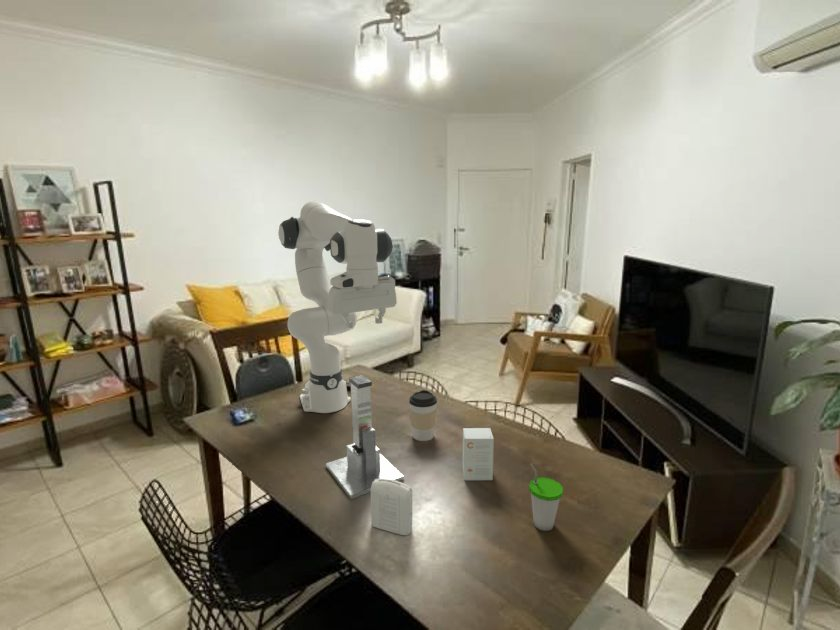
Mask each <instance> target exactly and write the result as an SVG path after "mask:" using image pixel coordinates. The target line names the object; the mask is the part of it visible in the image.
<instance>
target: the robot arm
mask: <svg viewBox="0 0 840 630" xmlns="http://www.w3.org/2000/svg"><path fill="white" fill-rule="evenodd" d="M299 215H300V216H299V217H294V216H291V217H289V218H288V219H285V220H283V221H281V223H280V224H279V227H278V228H279V229H278V232H277V233H278V239H279V242H280V244H281V245H282V246H283V248H285V249H288V250H289V249H290V250H294V251H295V252H294V265H295V272H296V276H297V280H298V285H299V290H300V293H301V295H302V296H303V297H304V298H306V299H307V300H309V301H313V302H314V303H316V305H318V306H317V307H309V308H308V307H307V308H302V309H299V310H295V311H294V312H291V314H290V315H289V316H288V319H287V324H286V326H287V329H288V332H289V333H290V335H291V336H292V337H293V338H295V339H296V340H297V341H299V342H300V343H302V344H303V345H304V346H305V348H306V350H307V353H308V357H309V362H310V363H309V364H310V372H309V380H308V381H307V382H306V383H305V385H304V388H302V389H301V394H300V395H299V400H300V402H301V405H302V409H303V411H304V412H307V413H308V412H311V413H317V414H319V413H320V414H330V413H335V412H339V411H340V410H342V409H344V408H345V407H347V406H348V405H347V404H348V403H349V402H352V401H351V396H348V389H347V388H348V387H347V381H345V380H344V379H343V371H342V368H341V352H340V350H339V348H338V347H337V346H335V345H334V344H331V343H328V342H325V338H326V337H327V336H333V335H339V334H340V335H341V334H343V333H346V332H349V331H351V330H354V328H355V327H356V325H357V319H358V317H357V313H359V312H366V311H368V312H369V311H373V310H378V311H379V312H378V315H377V316H375V317H374V318H375V324H377V325H379V324H383V318H384V316H385V314H386V312H387V311H386V309H388V308H394V307H396V305H397V302H398V301H397V293H396V279H395V278H394V277H392V276H391V275H385V276H384V275H383V276H381V275H380V276H379V266H378V263H384V262H385V261H386V260H387V259H388V258H389V257H390V256H391V254H392V252H393V240H392V238H391V236H390V235H389V234H388V232H387V231H386V230H385V229H383V228H378V229H377V228H376V226H375V223H374V222H372V221H371V220H368V219H363V218H354V219H353V218H351V217H349V216H347V215H344V214H342V213H340V212H338V211H336V210H334V209H333V208H331V207H330V206H328V205H327V204H325V203H322V202H320V201H315V200H314V201H309V202H306V203H305V204H304V205H303V206H302V208H301V209H300V214H299ZM324 249H325V251H326V252H329V251H330V256H331V258H333V260H335V261H336V262H337V263H339V264H346V268H345V269H346V270H345V272H342V273H341V274H338V275H335V276H333V277H331V278H330V279H329V274H328V271H327V267H326V263H325V261H324V257H323V251H324Z"/></svg>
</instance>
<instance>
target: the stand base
mask: <svg viewBox="0 0 840 630" xmlns="http://www.w3.org/2000/svg"><path fill="white" fill-rule="evenodd" d="M362 432H363V447H362V448H358V446H357V445H356V444H355V443H354V442H353V443H351V444H348V445H346V456H345V457H342V458H339V459H335V460H332V461H329V462H326V463H325V468H326V469H327V470H328V471H329V472H330V475H332V477H333V478H334V479H335V481H336V482H337V483H338V484H339V486H340V487H341V489H342V490H343V491H344V492H345V493H346V495H347V496H348V497H349V499H350V500H354V499H355V498H359V497H361V496H363V495H367V494H369V493H370V494H371V485H372V482H373V481H374V480H375V479H391V480H395V481H398V482H402V481H404V480H405V479H404V478H405V476H404V475H403V474H402V472H400V471H399V470H398V469H397V467H395V466H394V465H393V464H392V463H391V462H390V461H389V460H388V459H387V458H385V456H384V455H383V454H382V453H380V448H379V447H378V446H377V445H376V444H377V443H376V429H374V428H373V427H372V428H371V427H367V428H364V429H362Z"/></svg>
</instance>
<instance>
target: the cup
mask: <svg viewBox="0 0 840 630" xmlns="http://www.w3.org/2000/svg"><path fill="white" fill-rule="evenodd" d="M529 466H530V467H531V469H532V470H533V472H534V478H533V479H532V480H530V481H529V484H528V490H529V492H530V498H531V509H532V520H533V525H534V527H535V528H536V529H537V530H539V531H542V532H550V531H551V530H553V528H554V526H555V520H556V517H557V513H558V508H559V504H560V499H561V498H562V497H563V494H564V487H563V486H562V484H561V483H560V482H559V481H556V480H555V479H552V478H548V477H544V476H543V477H538V470H537V469H536V468H535V467H534V464H533V463H532V462H531V463H529Z"/></svg>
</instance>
